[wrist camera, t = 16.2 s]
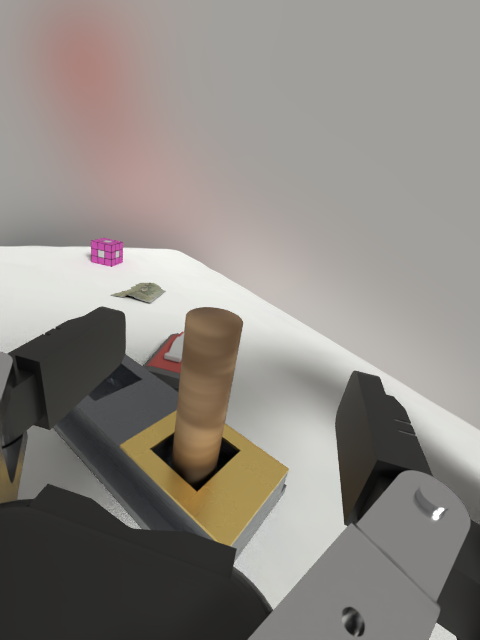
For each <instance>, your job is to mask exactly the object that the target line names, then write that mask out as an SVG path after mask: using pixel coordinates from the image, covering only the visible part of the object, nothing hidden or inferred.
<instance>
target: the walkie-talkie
mask: <svg viewBox="0 0 480 640" xmlns="http://www.w3.org/2000/svg"><path fill="white" fill-rule="evenodd" d="M183 341H184V332H181V333H180V334H178V333H177V334H172V335H170V336H169V337H168V339H167V340H166V341H165V342H164V343H163V344H162V345H161V346H160V348H159V349H158V350H157V352H155V354H153V356H152V357H151V358H150V359H149V360H148V362H146V364H144V366H143V367H144V368H145V369H147V370H148V371H149V372H151V373H152V374H153V375H155V376H156V377H158V378H159V379H160V380H162V381H163V382H165V383H166V384H167V385H169V386H170V387H172V388H173V389H174V390H176V391H177V392H179V382H180V371H181V361H182V351H183Z"/></svg>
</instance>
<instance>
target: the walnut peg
mask: <svg viewBox="0 0 480 640" xmlns="http://www.w3.org/2000/svg"><path fill="white" fill-rule="evenodd" d="M242 327H243V321H242V319H241V318H240V317H239V316H238V315H236V314H234V313H232V312H230V311H227V310H224V309H219V308H211V307H203V308H196V309H193V310H191V311H189V312H188V313H187V314H186V320H185V331H184V341H183V351H182V361H181V371H180V382H179V392H178V402H177V412H176V423H175V433H174V443H173V453H172V464H171V469H172V470H173V471H175V472H176V473H177V474H178V475H179V476H180V477H181V478H182V479H183V480H184V481H186V482H187V483H188V484H189V485H190V486H191V487H192V488H193V489H194V490H195V491H197V492H198V491H199V490H200V489H201V488H202V487H203V486H204V485H205V484H206V483H207V482H208V481H209V480H210V479H211V478H212V477H213V476H214V475H215V473H216V467H217V462H218V456H219V451H220V446H221V440H222V435H223V429H224V424H225V419H226V413H227V408H228V402H229V397H230V392H231V386H232V381H233V375H234V370H235V365H236V359H237V354H238V348H239V343H240V338H241V332H242Z"/></svg>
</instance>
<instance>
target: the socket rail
mask: <svg viewBox="0 0 480 640" xmlns="http://www.w3.org/2000/svg"><path fill="white" fill-rule="evenodd" d="M177 402H178V392H177V391H176V390H174V389H173V388H172V387H170V386H169V385H167V384H166V383H165V382H163V381H162V380H160V379H159V378H158V377H156V376H155V375H153V374H152V373H151V372H149V371H148V370H147V369H145V368H144V367H142V366H141V365H140V364H138V363H137V362H135V361H134V360H133V359H131V358H130V357H128V356H127V355H126V354H125V356H124V358H123V361H122V362H121V364H120V365H119V366H118V367H117V368H116V369H115V370H114V371H113V372H112V373H111V374H110V375H109V376H108V377H107V378H106V379H104V380H103V381H102V382H101V383H100V384H99V385H98V386H97V387H96V388H95V389H94V390H93V391H91V392H90V393H89V394H88V395H87V396H86V397H85V398H84V399H83V400H82V401H81V402H80V403H79V404H77V405H76V406H75V407H74V408H73V409H72V410H71V411H70V412H69V413H68V414H67V415H66V416H64V417H63V418H62V419H61V420H60V421H59V422H58V423H57V424H56V425H55V426H54V427H53V428H54V429H55V430H56V432H57V433H58V434H59V435H60V436H61V437H62V438H63V440H64V441H65V442H66V443H67V444H68V445H69V446H70V447H71V449H72V450H73V451H74V452H75V453H76V454H77V455H78V457H79V458H80V459H81V460H82V461H83V462H84V463H85V465H86V466H87V467H88V468H89V469H90V470H91V471H92V472H93V474H94V475H95V476H96V477H97V478H98V479H99V480H100V482H101V483H102V484H103V485H104V486H105V487H106V488H107V489H108V491H109V492H110V493H111V494H112V495H113V496H114V497H115V499H116V500H117V501H118V502H119V503H120V504H121V505H122V506H123V508H124V509H125V510H126V511H127V512H128V513H129V514H130V516H131V517H132V518H133V519H134V520H135V521H136V522H137V524H138V525H139V526H140V527H141V528H142V529H144V530H164V531H184V532H190V533H193V534H196V535H199V536H202V537H204V538H207V539H210V540H213V541H216V542H219V543H222V544H225V545H228V546H231V547H234V548H237V551H236V555H235V560H236V559H237V557H238V556H239V555H240V553H241V552H242V550H243V549H244V548H245V546H246V545H247V544H248V542H249V541H250V539H251V538H252V537H253V535H254V534H255V532H256V531H257V530H258V528H259V527H260V525H261V524H262V523H263V521H264V520H265V518H266V517H267V516H268V514H269V513H270V511H271V510H272V509H273V507H274V506H275V505H276V503H277V502H278V500H279V499H280V498H281V496H282V495H283V493H284V491H285V488H286V485H285V484H284V482H285V479H286V476H287V473H288V471H289V469H288V468H287V467H286V466H284V465H283V464H281V463H280V462H279V461H277V460H276V459H274V458H273V457H272V456H270V455H269V454H267V453H266V452H265V451H263V450H262V449H260V448H259V447H258V446H256V445H255V444H253V443H252V442H251V441H249V440H248V439H246V438H245V437H244V436H242V435H241V434H239V433H238V432H236V431H235V430H234V429H232V428H231V427H229V426H228V425H227V424H224V429H223V435H222V440H221V446H220V451H219V456H218V462H217V467H216V473H215V475H214V476H213V477H212V478H211V479H210V480H209V481H208V482H207V483H206V484H205V485H204V486H203V487H202V488H201V489H200V490H199V491H198V492H197V491H195V490H194V489H193V488H192V487H191V486H190V485H189V484H188V483H187V482H186V481H184V480H183V479H182V478H181V477H180V476H179V475H178V474H177V473H176V472H175V471H173V470H172V469H171V464H172V453H173V443H174V433H175V423H176V412H177ZM235 560H234V562H235Z"/></svg>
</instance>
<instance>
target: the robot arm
mask: <svg viewBox="0 0 480 640" xmlns="http://www.w3.org/2000/svg"><path fill="white" fill-rule="evenodd" d="M125 350H126V322H125V314H124V313H123V312H122V311H118V310H114V309H110V308H106V307H99V308H97V309H95V310H93V311H92V312H90V313H88V314H86V315H85V316H82V317H79V318H75V319H71V320H68V321H66V322H64V323H62V324H61V325H59V326H57V327H56V328H55V329H51V330H50V331H48V332H46V333H45V335H44V334H42V335H40V336H39V337H37V338H35V339H33V340H31V341H29V342H28V343H26V344H24V345H22V346H20V347H19V348H17V349H15V350H13V351H11V352H9V353H8V354H6V353H3V352H0V640H429V638H430V635H431V633H432V631H433V629H434V626H435V624H436V622H437V623H438V624H439V625H441V626H442V627H444V628H445V629H447V630H448V631H449V632H451V633H452V634H454V635H455V636H456V638H457V640H480V525H479V524H477V523H475V522H474V521H472V520H471V519H470V517H469V514H468V511H467V509H466V508H465V506H464V504H463V503H462V501H461V500H460V499H459V497H458V496H457V495H456V494H455V493H454V492H453V491H452V490H451V489H450V488H449V487H447V486H446V485H445V484H443V483H442V482H441V481H439V480H438V479H436V478H434V477H433V475H432V473H431V470H430V468H429V466H428V463H427V461H426V458H425V456H424V454H423V451H422V449H421V446H420V444H419V441H418V439H417V437H416V436H415V432H414V429H413V427H412V425H410V423H411V422H410V420H409V417H408V415H407V412H406V410H405V409H404V407H403V406H402V405H401V404H400V403H399V402H398V401H397V400H396V399H395V397H394V396H390V395H386V394H385V391H384V388H383V385H382V382H381V379H380V377H378V376H374V375H370V374H366V373H363V372H359V371H353V373H352V374H351V376H350V379H349V381H348V384H347V387H346V389H345V392H344V394H343V397H342V400H341V402H340V405H339V407H338V411H337V415H336V422H335V428H336V439H337V450H338V461H339V471H340V482H341V493H342V504H343V514H344V525H347V526H348V527H347V528H346V529H345V530H344V531H343V532H342V533H341V534H340V535H339V537H338V538H337V539H336V540H335V541H334V542H333V543H332V545H331V546H330V547H329V548H328V549H327V550H326V551H325V552H324V554H323V555H322V556H321V557H320V558H319V559H318V560H317V562H316V563H315V564H314V565H313V566H312V567H311V568H310V569H309V571H308V572H307V573H306V574H305V575H304V576H303V577H302V579H301V580H300V581H299V582H298V583H297V584H296V585H295V586H294V588H293V589H292V590H291V591H290V592H289V593H288V594H287V596H286V597H285V598H284V599H283V600H282V601H281V602H280V603H279V605H278V606H277V607H276V608H275V609H274V610H273V609H272V607H271V606H270V604H269V603H268V601H267V600H266V598H265V597H264V595H263V594H262V593H261V592H260V591H259V589H258V588H257V587H256V586H255V585H254V583H252V582H251V581H250V580H249V579H248V578H247V577H246V576H245V575H244V574H243V573H242V572H240V571H239V570H238V569H236V568H235V567H233V565H234V560H235V555H236V551H237V548H234V547H231V546H228V545H225V544H222V543H219V542H216V541H213V540H210V539H207V538H204V537H202V536H199V535H196V534H193V533H190V532H184V531H164V530H144V529H133V528H130V527H128V526H126V525H125V524H124V523H123V522H121V521H120V520H119V519H117V518H116V517H115V516H113V515H112V514H111V513H109V512H108V511H107V510H105V509H104V508H103V507H102V506H100V505H99V504H98V503H96V502H95V501H94V500H92V499H91V498H88V497H85V496H82V495H79V494H76V493H73V492H70V491H67V490H64V489H62V488H59V487H56V486H53V485H50V484H47V485H46V487H45V488H44V489H43V490H42V491H41V492H40V493H39V494H38V496H37V497H36V498H35V499H26V500H17V494H18V487H19V482H20V477H21V471H22V466H23V460H24V455H25V449H26V444H27V432H26V430H27V429H29V428H30V427H31V426H32V425H35V426H39V427H42V428H45V429H48V430H50V429H51V428H53V427H54V426H55V425H56V424H57V423H58V422H59V421H60V420H61V419H62V418H63V417H64V416H66V415H67V414H68V413H69V412H70V411H71V410H72V409H73V408H74V407H75V406H76V405H77V404H79V403H80V402H81V401H82V400H83V399H84V398H85V397H86V396H87V395H88V394H89V393H90V392H91V391H93V390H94V389H95V388H96V387H97V386H98V385H99V384H100V383H101V382H102V381H103V380H104V379H106V378H107V377H108V376H109V375H110V374H111V373H112V372H113V371H114V370H115V369H116V368H117V367H118V366H119V365H120V364H121V362H122V361H123V358H124V356H125Z"/></svg>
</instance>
